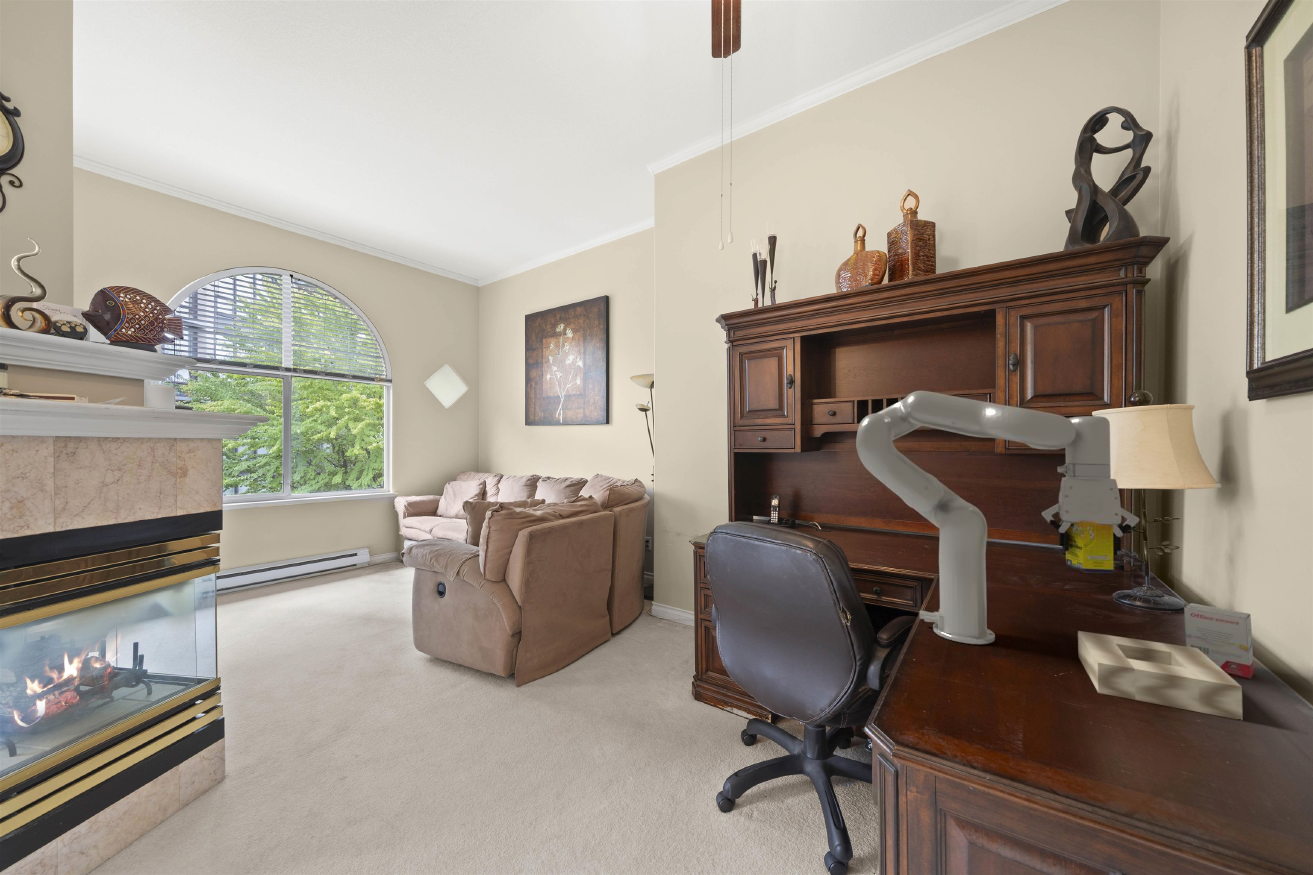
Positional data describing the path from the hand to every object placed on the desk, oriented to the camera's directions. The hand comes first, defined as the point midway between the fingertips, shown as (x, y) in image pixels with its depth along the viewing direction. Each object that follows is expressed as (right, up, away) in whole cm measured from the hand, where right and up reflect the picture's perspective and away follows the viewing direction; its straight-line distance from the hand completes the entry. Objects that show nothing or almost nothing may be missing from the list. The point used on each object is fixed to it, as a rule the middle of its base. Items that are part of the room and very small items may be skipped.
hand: (1088, 551), depth 110 cm
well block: (-2, -21, -16) cm, 27 cm away
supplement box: (0, -4, 0) cm, 4 cm away
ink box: (+18, -22, -10) cm, 30 cm away
